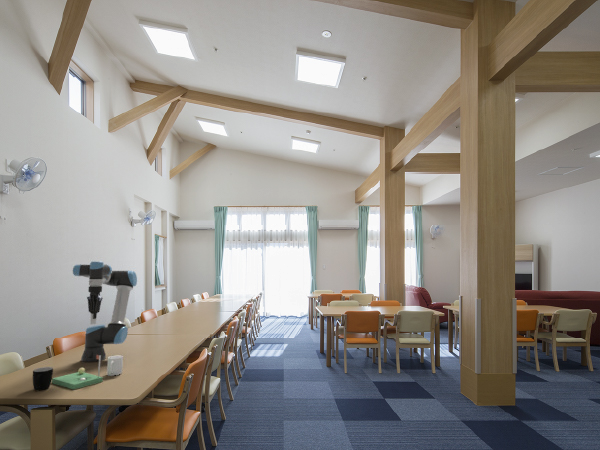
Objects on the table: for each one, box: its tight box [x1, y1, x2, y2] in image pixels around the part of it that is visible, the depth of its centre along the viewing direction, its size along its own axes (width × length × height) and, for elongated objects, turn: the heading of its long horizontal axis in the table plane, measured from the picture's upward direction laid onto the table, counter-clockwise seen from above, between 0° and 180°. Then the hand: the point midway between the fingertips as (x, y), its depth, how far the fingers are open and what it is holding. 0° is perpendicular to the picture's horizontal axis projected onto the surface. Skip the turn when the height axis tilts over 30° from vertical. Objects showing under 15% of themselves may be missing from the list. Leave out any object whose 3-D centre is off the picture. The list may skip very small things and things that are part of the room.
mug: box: [32, 366, 54, 392], centre depth 200 cm, size 12×9×10 cm
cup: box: [106, 354, 124, 377], centre depth 227 cm, size 8×12×10 cm
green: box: [51, 355, 104, 391], centre depth 212 cm, size 22×16×14 cm
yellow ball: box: [77, 367, 86, 374], centre depth 220 cm, size 3×3×3 cm
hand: (93, 323), depth 234 cm, fingers closed
